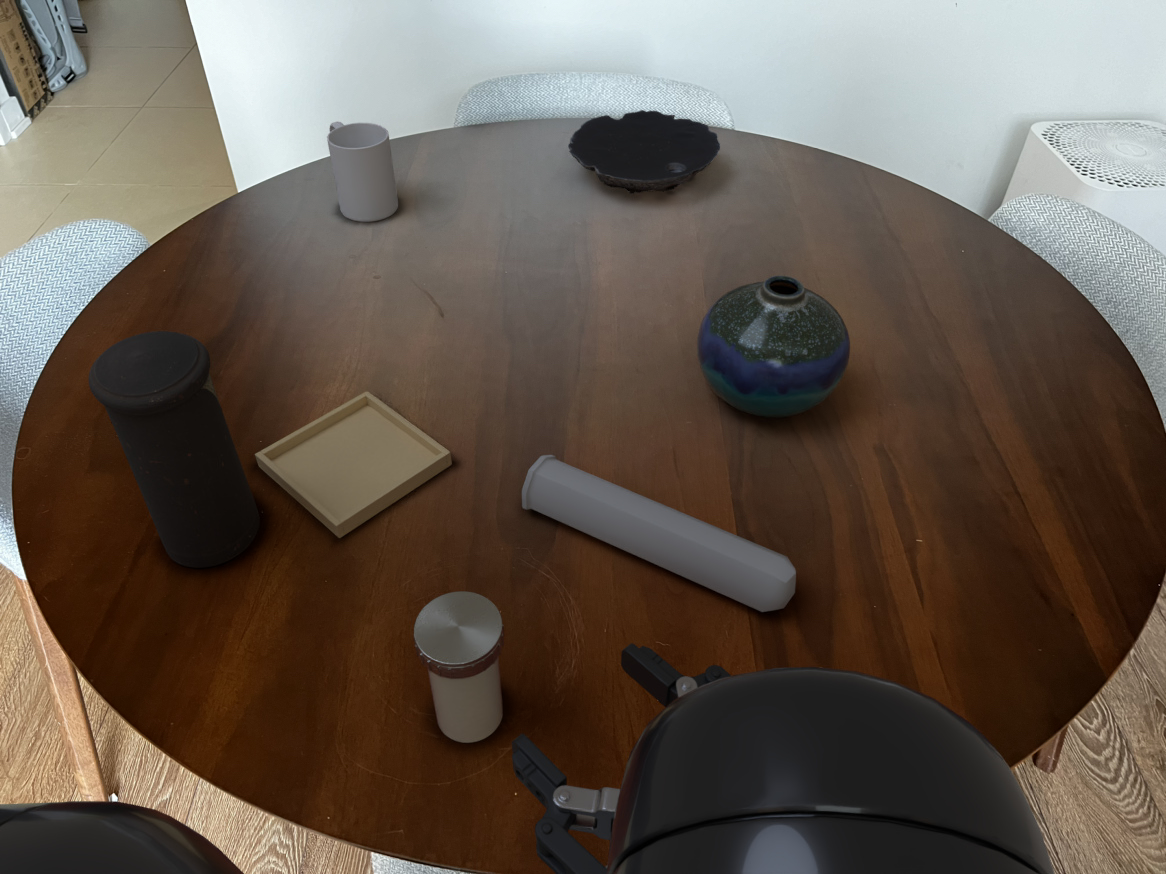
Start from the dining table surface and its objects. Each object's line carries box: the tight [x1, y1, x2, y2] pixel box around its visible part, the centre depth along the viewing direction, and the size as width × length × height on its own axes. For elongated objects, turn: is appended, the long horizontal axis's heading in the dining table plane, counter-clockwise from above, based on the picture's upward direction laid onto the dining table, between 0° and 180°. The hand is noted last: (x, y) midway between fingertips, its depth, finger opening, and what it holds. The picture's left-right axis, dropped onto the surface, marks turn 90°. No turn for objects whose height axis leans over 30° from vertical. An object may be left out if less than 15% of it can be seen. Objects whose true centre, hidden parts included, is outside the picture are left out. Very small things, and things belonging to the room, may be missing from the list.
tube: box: [521, 454, 797, 613], centre depth 79 cm, size 5×5×25 cm
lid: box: [412, 590, 505, 679], centre depth 62 cm, size 6×6×2 cm
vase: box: [696, 275, 851, 418], centre depth 93 cm, size 15×15×13 cm
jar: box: [427, 657, 504, 744], centre depth 65 cm, size 5×5×10 cm
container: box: [88, 330, 261, 569], centre depth 75 cm, size 9×9×20 cm
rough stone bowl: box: [567, 109, 721, 195], centre depth 132 cm, size 22×22×5 cm
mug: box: [326, 121, 399, 223], centre depth 123 cm, size 12×8×10 cm, turn 37°
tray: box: [254, 390, 453, 539], centre depth 88 cm, size 13×13×2 cm
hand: (573, 697), depth 52 cm, fingers open, 8 cm apart
